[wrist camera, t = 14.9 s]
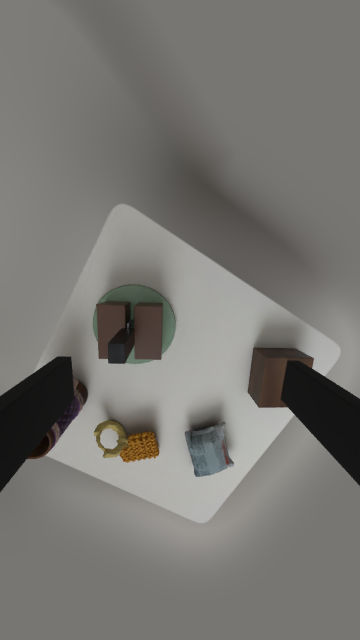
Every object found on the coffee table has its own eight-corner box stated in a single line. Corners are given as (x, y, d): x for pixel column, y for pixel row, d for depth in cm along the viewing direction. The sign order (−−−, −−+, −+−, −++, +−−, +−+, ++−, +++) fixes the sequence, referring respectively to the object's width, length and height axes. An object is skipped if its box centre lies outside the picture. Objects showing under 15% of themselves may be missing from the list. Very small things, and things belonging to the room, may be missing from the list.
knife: (140, 316, 35) (124, 337, 22) (140, 337, 36) (125, 369, 23) (129, 315, 35) (107, 337, 22) (129, 337, 36) (108, 369, 23)
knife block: (295, 348, 39) (314, 358, 34) (288, 392, 41) (304, 407, 36) (253, 347, 39) (266, 357, 34) (247, 392, 41) (258, 407, 36)
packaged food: (221, 414, 41) (228, 432, 37) (231, 457, 44) (238, 479, 39) (182, 423, 41) (184, 443, 37) (194, 466, 44) (197, 489, 39)
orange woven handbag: (175, 459, 37) (102, 438, 31) (144, 482, 40) (74, 467, 35) (172, 425, 43) (111, 402, 37) (146, 447, 46) (86, 430, 40)
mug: (78, 414, 39) (40, 472, 27) (45, 398, 38) (-10, 452, 26) (103, 376, 38) (74, 419, 26) (70, 358, 37) (24, 395, 25)
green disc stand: (176, 286, 35) (178, 288, 30) (173, 362, 38) (174, 376, 33) (92, 283, 34) (78, 283, 29) (96, 361, 37) (84, 375, 32)
